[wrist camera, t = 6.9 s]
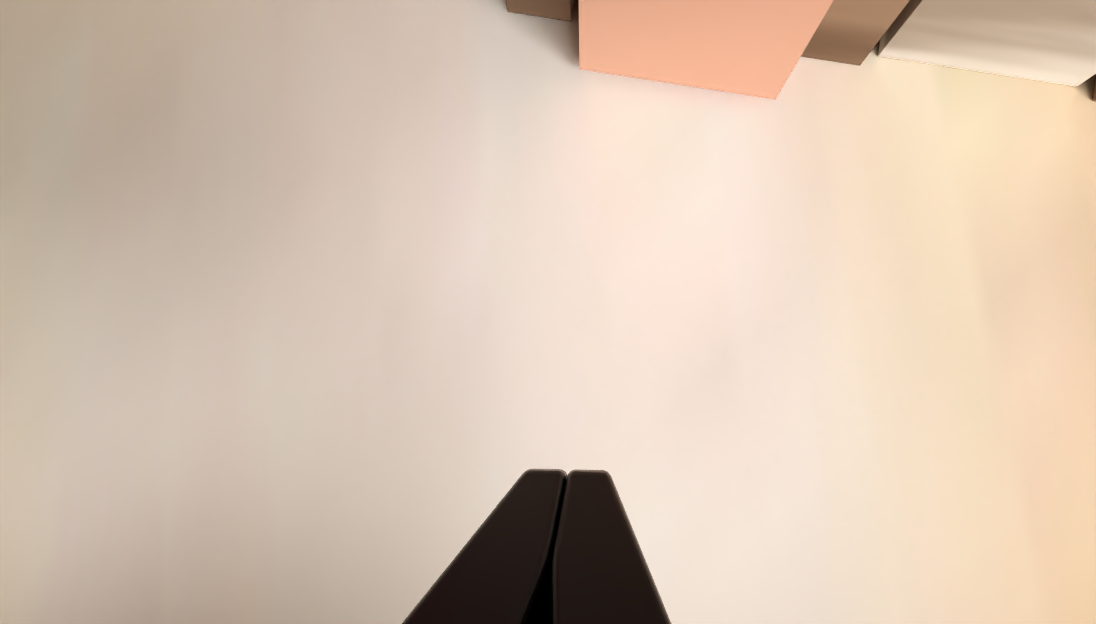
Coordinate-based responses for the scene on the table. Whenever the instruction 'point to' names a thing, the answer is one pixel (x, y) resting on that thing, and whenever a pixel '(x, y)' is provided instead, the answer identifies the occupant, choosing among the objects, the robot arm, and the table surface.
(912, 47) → the walnut holder
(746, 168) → the table surface
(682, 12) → the terracotta plug
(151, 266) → the table surface
